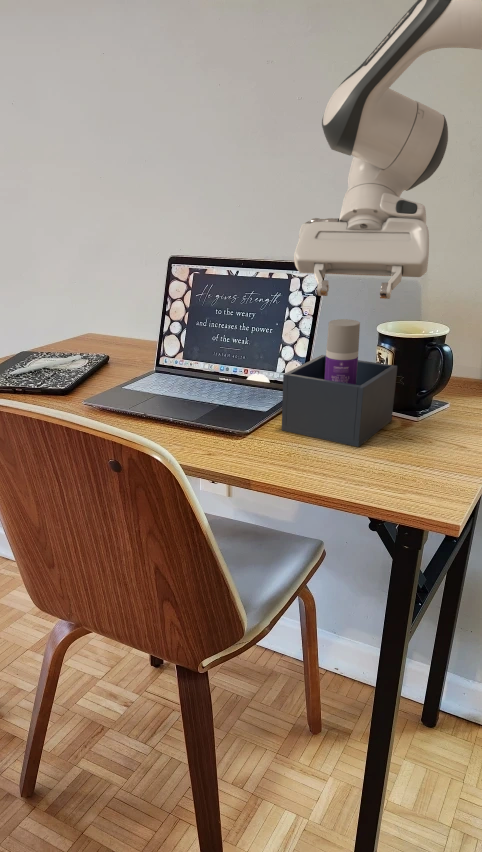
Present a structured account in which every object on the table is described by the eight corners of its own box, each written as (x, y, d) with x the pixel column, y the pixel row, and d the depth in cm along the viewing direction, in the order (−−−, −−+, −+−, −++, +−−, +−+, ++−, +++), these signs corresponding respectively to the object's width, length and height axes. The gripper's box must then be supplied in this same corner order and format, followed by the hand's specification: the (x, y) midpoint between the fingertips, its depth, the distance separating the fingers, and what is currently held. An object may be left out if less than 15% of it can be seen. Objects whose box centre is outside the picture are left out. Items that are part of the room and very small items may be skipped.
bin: (391, 420, 107) (397, 365, 103) (358, 447, 98) (363, 387, 94) (318, 406, 114) (321, 354, 110) (281, 430, 105) (283, 374, 101)
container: (330, 427, 103) (336, 327, 96) (317, 417, 107) (322, 320, 101) (358, 423, 104) (366, 324, 98) (344, 413, 108) (351, 317, 102)
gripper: (300, 204, 108) (282, 279, 104) (436, 205, 102) (422, 285, 98) (305, 232, 114) (288, 303, 110) (434, 234, 107) (421, 310, 104)
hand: (352, 295), depth 104 cm, fingers open, 8 cm apart
